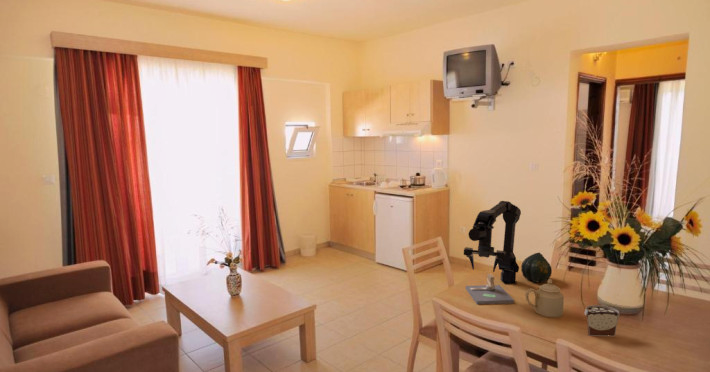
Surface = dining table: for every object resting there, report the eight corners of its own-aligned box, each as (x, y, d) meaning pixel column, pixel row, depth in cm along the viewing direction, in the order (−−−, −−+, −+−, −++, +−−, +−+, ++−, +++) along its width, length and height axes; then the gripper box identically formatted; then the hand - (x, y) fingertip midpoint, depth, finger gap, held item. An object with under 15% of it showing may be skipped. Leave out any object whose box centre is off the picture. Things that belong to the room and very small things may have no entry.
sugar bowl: (545, 322, 171) (547, 287, 169) (523, 312, 181) (524, 279, 179) (568, 313, 178) (570, 280, 176) (545, 304, 188) (546, 272, 186)
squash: (521, 274, 211) (542, 252, 210) (511, 266, 226) (530, 246, 225) (542, 292, 212) (563, 270, 210) (531, 283, 227) (550, 262, 225)
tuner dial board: (499, 287, 209) (499, 284, 209) (514, 303, 190) (514, 299, 190) (465, 288, 209) (465, 285, 209) (476, 304, 190) (476, 300, 190)
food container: (610, 328, 164) (612, 304, 163) (619, 336, 158) (620, 311, 157) (577, 328, 165) (579, 304, 164) (584, 335, 159) (586, 310, 158)
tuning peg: (492, 287, 205) (493, 273, 204) (496, 291, 200) (496, 277, 200) (469, 287, 205) (469, 274, 204) (472, 291, 200) (472, 277, 199)
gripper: (463, 239, 192) (461, 272, 194) (506, 243, 186) (504, 277, 188) (465, 235, 203) (463, 267, 204) (505, 239, 197) (504, 271, 198)
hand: (483, 270), depth 198 cm, fingers open, 9 cm apart
